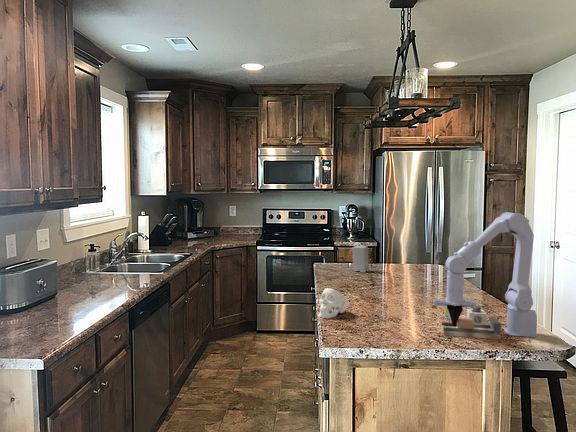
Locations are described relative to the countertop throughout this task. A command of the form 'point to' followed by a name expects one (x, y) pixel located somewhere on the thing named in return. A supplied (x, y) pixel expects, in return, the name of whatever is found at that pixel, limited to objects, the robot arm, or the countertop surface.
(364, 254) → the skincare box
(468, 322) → the block
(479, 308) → the button
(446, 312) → the supplement bottle
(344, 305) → the skull bowl
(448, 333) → the rail bed
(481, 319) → the gauge cabinet
